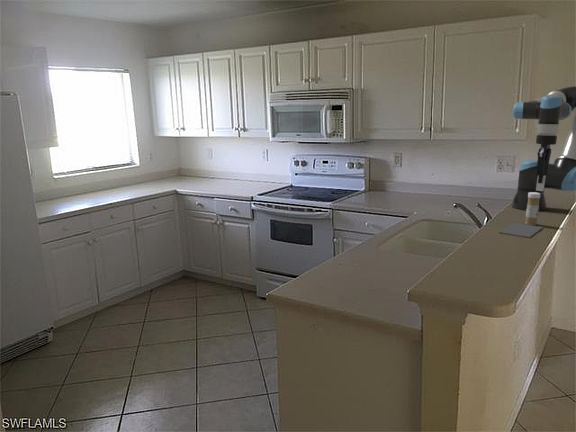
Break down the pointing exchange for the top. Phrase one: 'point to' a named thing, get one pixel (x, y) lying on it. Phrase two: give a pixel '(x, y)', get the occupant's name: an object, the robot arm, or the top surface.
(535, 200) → the sprinkles bottle
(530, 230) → the mat
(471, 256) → the top surface
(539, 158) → the robot arm
